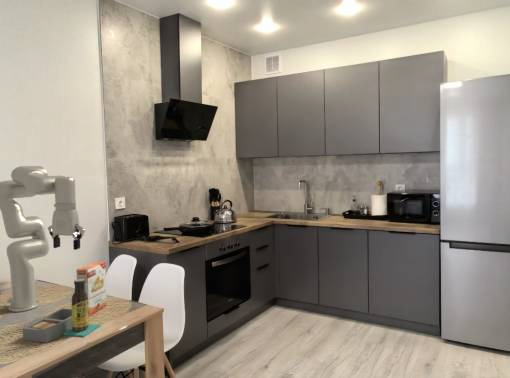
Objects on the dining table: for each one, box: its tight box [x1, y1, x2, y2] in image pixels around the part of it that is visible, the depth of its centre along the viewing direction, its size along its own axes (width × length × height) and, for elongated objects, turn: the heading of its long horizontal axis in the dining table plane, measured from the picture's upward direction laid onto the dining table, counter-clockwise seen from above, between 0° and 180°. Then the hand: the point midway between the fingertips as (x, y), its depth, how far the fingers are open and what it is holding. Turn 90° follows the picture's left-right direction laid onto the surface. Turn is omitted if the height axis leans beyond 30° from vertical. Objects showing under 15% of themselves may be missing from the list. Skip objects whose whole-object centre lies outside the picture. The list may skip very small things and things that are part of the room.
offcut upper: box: [32, 322, 56, 330], centre depth 153 cm, size 7×5×2 cm
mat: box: [61, 323, 101, 338], centre depth 157 cm, size 10×10×1 cm
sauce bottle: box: [71, 278, 90, 331], centre depth 156 cm, size 6×6×20 cm
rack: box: [22, 307, 72, 343], centre depth 158 cm, size 11×21×4 cm, turn 166°
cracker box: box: [76, 261, 108, 317], centre depth 178 cm, size 14×6×21 cm, turn 168°
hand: (66, 248), depth 162 cm, fingers open, 9 cm apart
